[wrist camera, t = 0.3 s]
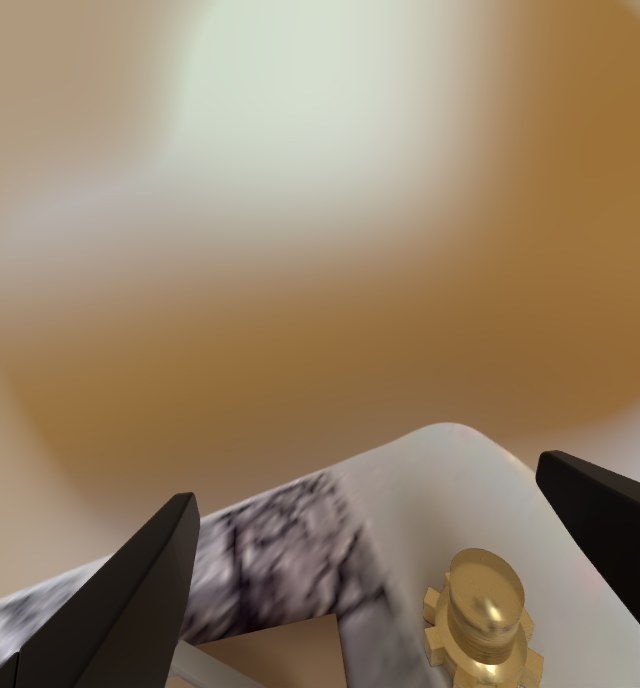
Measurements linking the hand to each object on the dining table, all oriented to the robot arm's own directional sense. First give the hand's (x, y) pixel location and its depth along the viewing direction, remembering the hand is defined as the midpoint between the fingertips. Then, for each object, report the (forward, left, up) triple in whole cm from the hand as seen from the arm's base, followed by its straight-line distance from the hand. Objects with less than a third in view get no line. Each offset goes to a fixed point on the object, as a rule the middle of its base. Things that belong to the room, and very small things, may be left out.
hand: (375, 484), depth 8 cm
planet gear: (+3, -6, -17) cm, 18 cm away
